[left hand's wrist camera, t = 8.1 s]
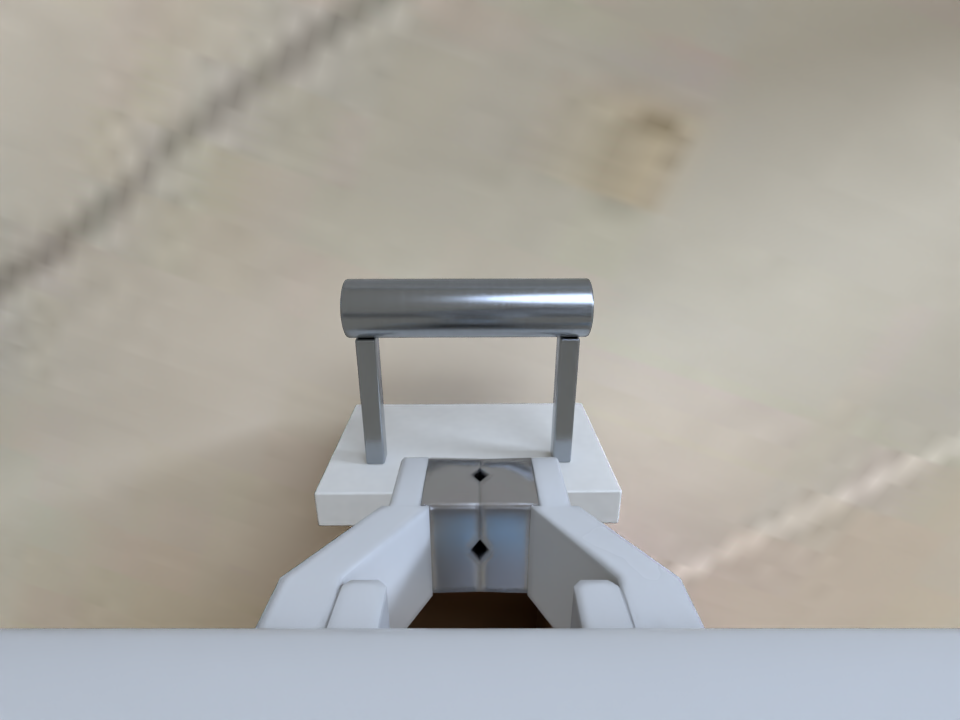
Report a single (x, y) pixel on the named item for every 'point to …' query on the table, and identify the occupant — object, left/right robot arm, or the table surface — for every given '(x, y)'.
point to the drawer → (465, 413)
